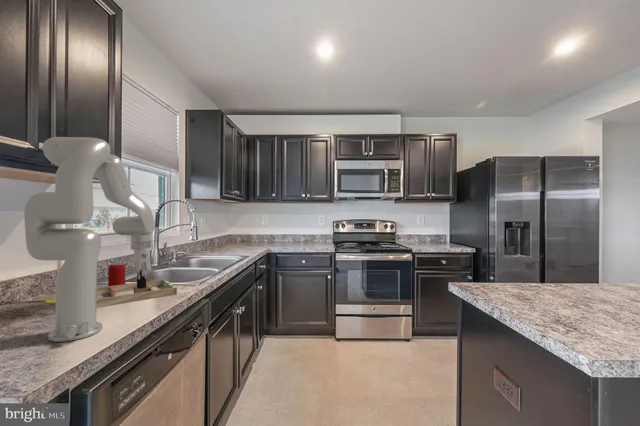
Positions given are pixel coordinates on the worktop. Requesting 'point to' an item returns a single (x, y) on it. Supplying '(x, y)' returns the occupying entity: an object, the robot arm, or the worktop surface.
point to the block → (141, 289)
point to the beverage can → (116, 274)
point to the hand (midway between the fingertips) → (141, 287)
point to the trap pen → (136, 296)
